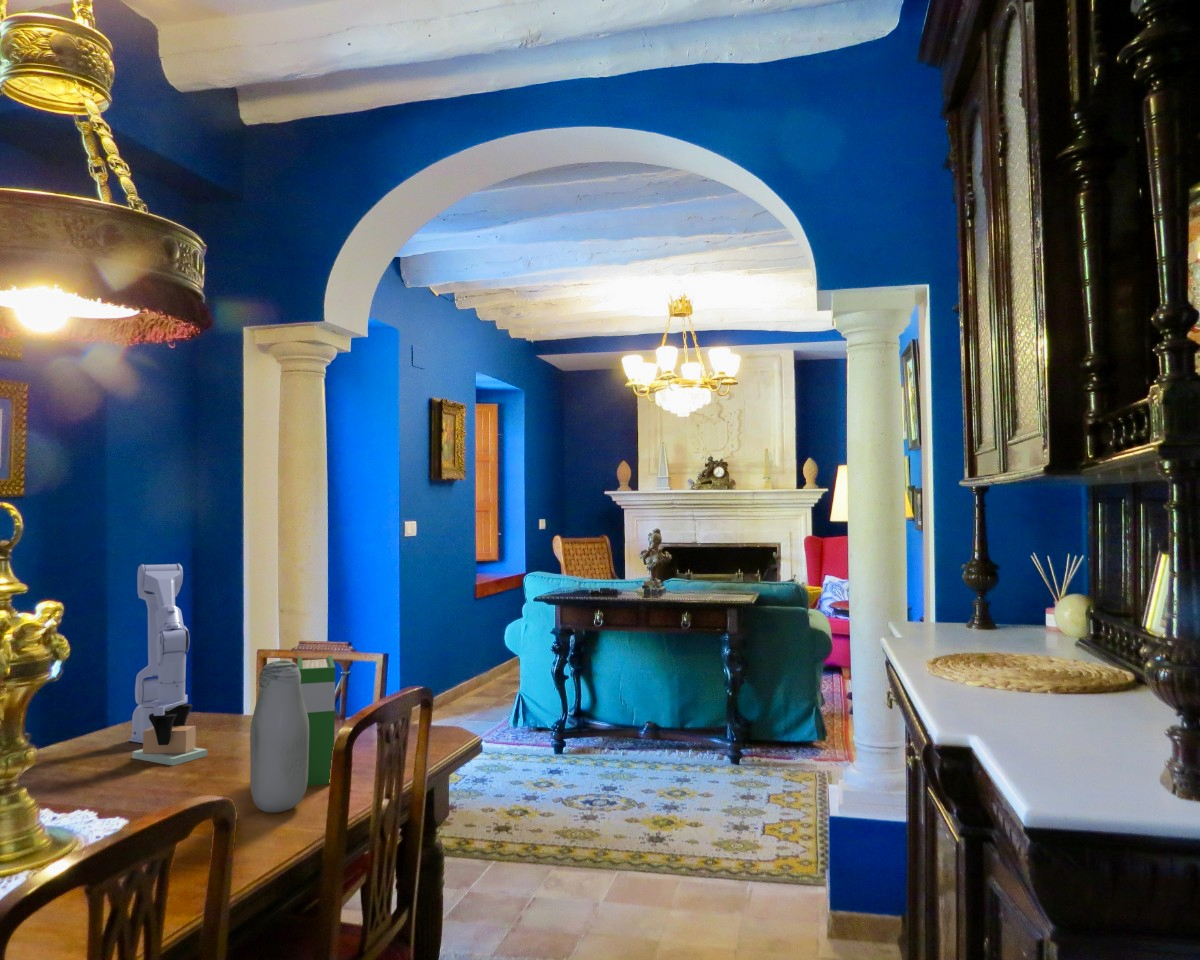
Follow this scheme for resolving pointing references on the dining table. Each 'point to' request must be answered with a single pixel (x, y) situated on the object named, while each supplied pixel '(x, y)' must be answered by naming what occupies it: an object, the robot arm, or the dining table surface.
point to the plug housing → (170, 740)
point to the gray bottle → (279, 739)
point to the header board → (170, 756)
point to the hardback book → (319, 715)
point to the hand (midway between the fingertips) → (170, 740)
